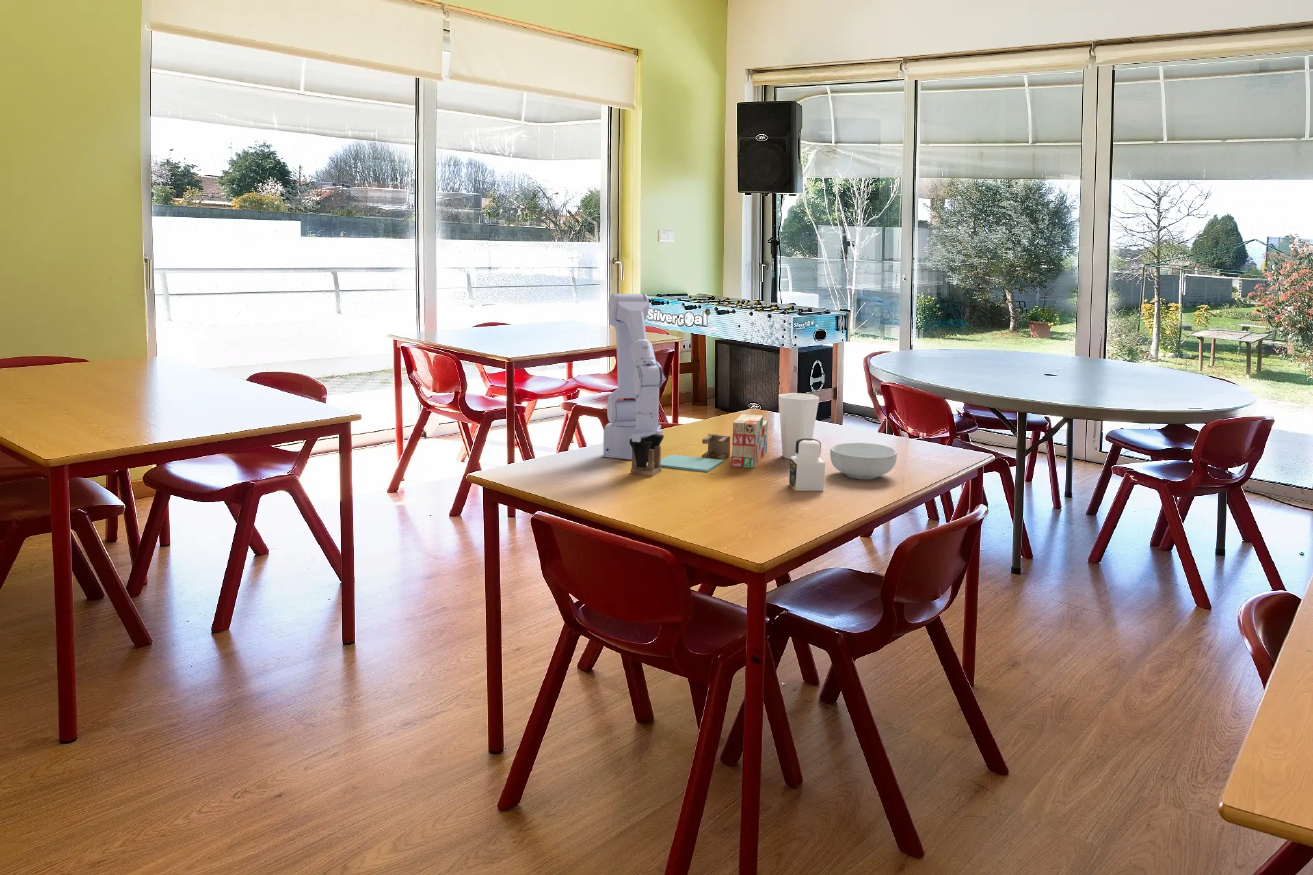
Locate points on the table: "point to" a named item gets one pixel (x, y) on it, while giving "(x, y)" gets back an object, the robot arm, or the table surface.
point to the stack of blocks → (749, 440)
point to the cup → (796, 419)
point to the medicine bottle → (807, 466)
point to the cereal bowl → (863, 459)
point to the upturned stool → (652, 465)
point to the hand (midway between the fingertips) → (646, 464)
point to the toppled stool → (717, 446)
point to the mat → (689, 463)
